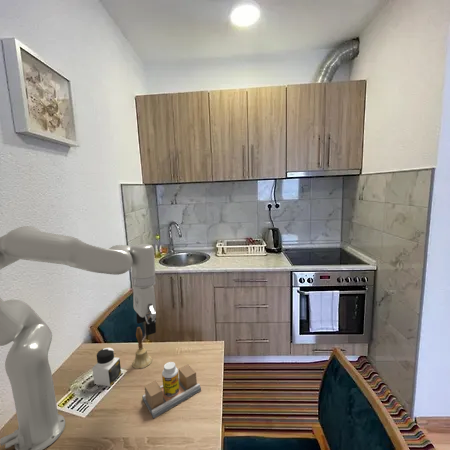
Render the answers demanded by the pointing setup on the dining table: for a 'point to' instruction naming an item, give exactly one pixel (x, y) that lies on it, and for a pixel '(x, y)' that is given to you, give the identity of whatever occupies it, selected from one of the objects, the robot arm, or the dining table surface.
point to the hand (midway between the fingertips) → (146, 327)
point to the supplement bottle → (170, 379)
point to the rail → (162, 403)
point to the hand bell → (141, 353)
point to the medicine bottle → (106, 367)
